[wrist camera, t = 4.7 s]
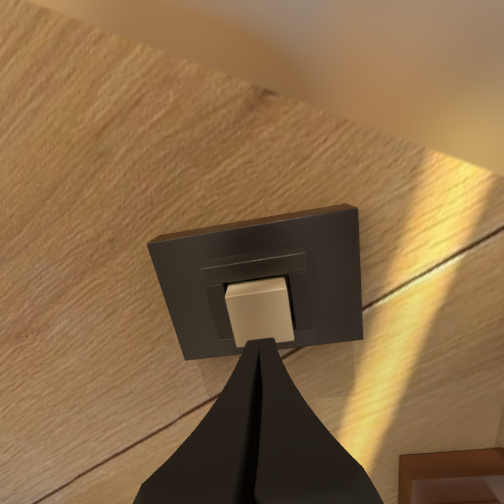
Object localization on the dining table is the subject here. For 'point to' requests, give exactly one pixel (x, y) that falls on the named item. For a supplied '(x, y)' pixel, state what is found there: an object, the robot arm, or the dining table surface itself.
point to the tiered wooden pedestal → (452, 477)
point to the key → (259, 310)
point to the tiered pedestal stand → (264, 277)
